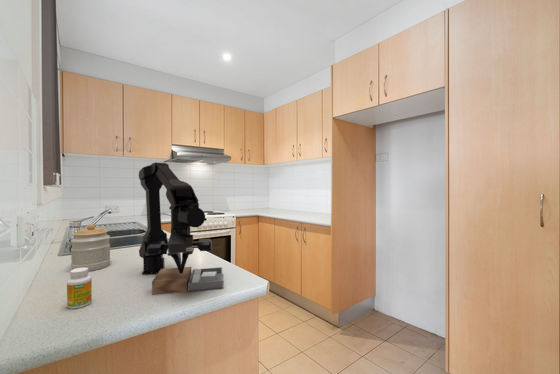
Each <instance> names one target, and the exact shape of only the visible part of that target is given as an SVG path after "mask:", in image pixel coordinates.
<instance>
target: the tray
mask: <svg viewBox="0 0 560 374" xmlns="http://www.w3.org/2000/svg"><path fill="white" fill-rule="evenodd" d="M195 269H196V268H193V269H191V276H190V279H189V282H188V291H187V292H188V293H191V292H201V291H202V292H203V291H213V290H222V289H223V282H224V281H223V267H222V266H221V267H220V266H219V267H210V268H209V267H207V268H206V267H205V268H200V269H201V274H200V279H199V282H197V283H192V280H193V275H194V271H195ZM216 271H217V277H216V280H215V281H208V282H201V276H202V274H203V272H216Z"/></svg>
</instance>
